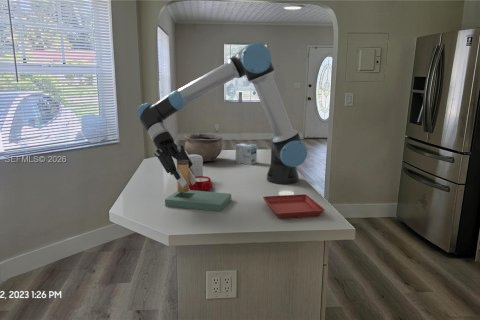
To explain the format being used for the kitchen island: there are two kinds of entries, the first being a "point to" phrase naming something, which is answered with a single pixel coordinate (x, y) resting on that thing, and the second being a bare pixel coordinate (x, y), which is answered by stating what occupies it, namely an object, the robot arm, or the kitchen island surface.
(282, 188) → the kitchen island surface
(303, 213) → the plant saucer
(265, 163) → the kitchen island surface
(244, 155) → the light bulb box
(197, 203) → the socket board
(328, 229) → the kitchen island surface
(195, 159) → the photo printer
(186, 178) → the plug
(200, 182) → the alarm clock
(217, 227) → the kitchen island surface
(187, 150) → the ceramic bowl
